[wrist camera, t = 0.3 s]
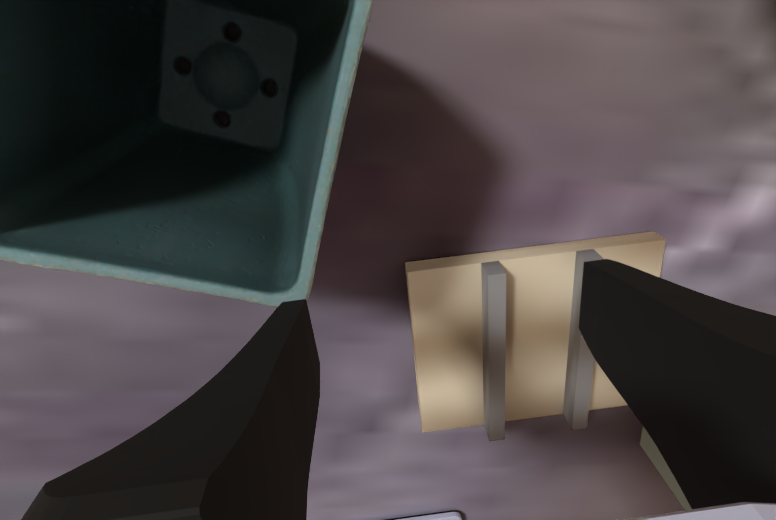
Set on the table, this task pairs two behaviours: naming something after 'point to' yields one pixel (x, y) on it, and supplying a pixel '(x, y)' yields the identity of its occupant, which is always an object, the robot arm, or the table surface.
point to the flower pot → (174, 138)
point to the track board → (512, 333)
